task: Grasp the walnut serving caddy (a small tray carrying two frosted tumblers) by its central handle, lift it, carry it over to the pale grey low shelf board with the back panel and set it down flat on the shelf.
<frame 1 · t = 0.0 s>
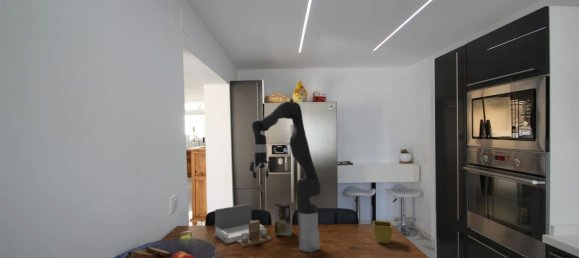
hand: (260, 177, 161), 29 cm above the table, fingers open, 8 cm apart
flower pot: (383, 242, 130), on the table
tray: (254, 241, 134), on the table
shelf: (239, 234, 143), on the table
coffee box: (283, 234, 144), on the table
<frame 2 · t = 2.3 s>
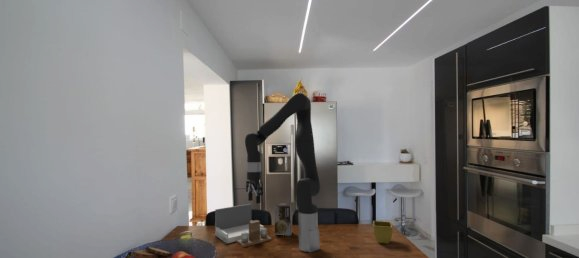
hand: (254, 201, 135), 20 cm above the table, fingers open, 8 cm apart
nothing on the table moved.
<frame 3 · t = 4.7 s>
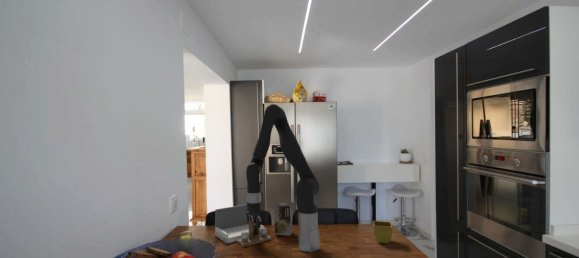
hand: (254, 234, 134), 3 cm above the table, fingers closed on tray, 3 cm apart
tray: (254, 240, 134), on the table, touching gripper
everything else where it was.
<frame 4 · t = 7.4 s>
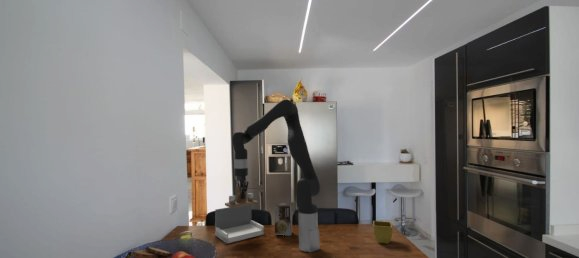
hand: (241, 198, 143), 20 cm above the table, fingers closed on tray, 3 cm apart
tray: (241, 204, 143), point 17 cm above the table, touching gripper
everything else where it was.
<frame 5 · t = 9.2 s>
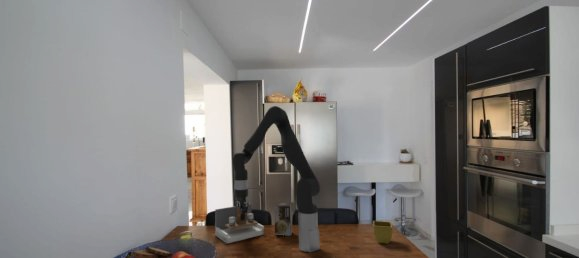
hand: (241, 219, 142), 9 cm above the table, fingers closed on tray, 3 cm apart
tray: (241, 225, 142), point 5 cm above the table, touching gripper
everything else where it was.
when the fingers open (7 cm above the table, at t = 10.4 s): tray stays where it is, resting on shelf.
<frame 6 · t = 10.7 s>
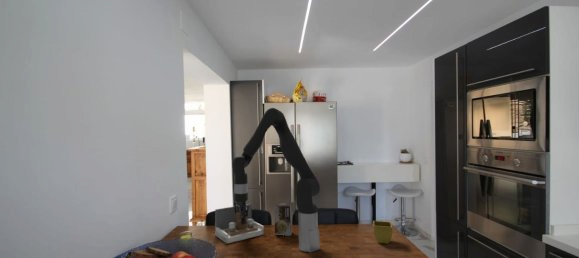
hand: (241, 222, 142), 7 cm above the table, fingers open, 5 cm apart
tray: (241, 231, 142), point 2 cm above the table, touching shelf
everything else where it was.
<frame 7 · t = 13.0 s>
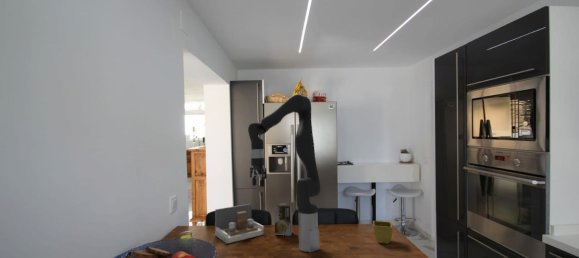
hand: (258, 186, 146), 26 cm above the table, fingers open, 8 cm apart
nothing on the table moved.
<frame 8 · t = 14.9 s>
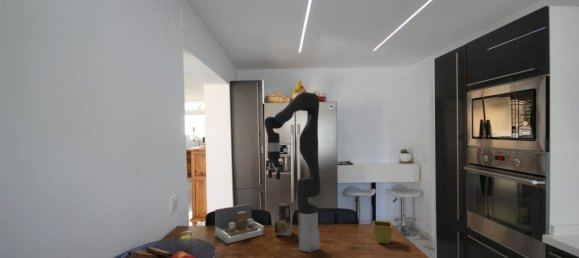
hand: (274, 178, 149), 30 cm above the table, fingers open, 8 cm apart
nothing on the table moved.
at the end: tray inside the target area on the shelf (1.4 cm from its centre), point 2.5 cm above the shelf's base; tray tilted 0°; the gripper is holding nothing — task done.
